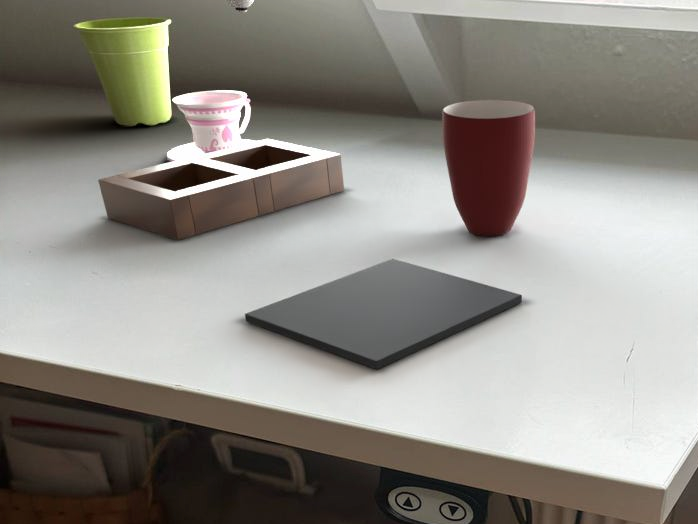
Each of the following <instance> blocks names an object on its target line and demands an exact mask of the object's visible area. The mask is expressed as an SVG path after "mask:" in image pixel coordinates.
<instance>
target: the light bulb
mask: <svg viewBox="0 0 698 524" xmlns="http://www.w3.org/2000/svg"><path fill="white" fill-rule="evenodd" d="M254 1H255V0H226V2H227V4H228V5H230V6H231V7H232V8H234V9H235V11H236V13H247V12H248V9H249V7H251V5H252V4H253V3H254Z"/></svg>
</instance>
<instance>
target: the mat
mask: <svg viewBox="0 0 698 524" xmlns="http://www.w3.org/2000/svg"><path fill="white" fill-rule="evenodd" d="M521 303H523V295H522V294H520V293H516V292H513V291H510V290H506V289H502V288H498V287H496V286H492V285H487V284H484V283H481V282H477V281H473V280H472V279H471V280H470V279H467V278H463V277H459V276H456V275H452V274H448V273H446V272H442V271H438V270H435V269H431V268H427V267H425V266H421V265H417V264H413V263H410V262H407V261H402V260H399V259H396V258H391V259H388V260H385V261H382V262H380V263H377V264H374V265H372V266H369V267H366V268H364V269H361V270H358V271H356V272H354V273H350V274H347V275H345V276H343V277H340V278H337V279H334V280H331V281H329V282H326V283H324V284H321V285H318V286H315V287H313V288H311V289H308V290H305V291H302V292H300V293H297V294H295V295H292V296H289V297H286V298H283V299H281V300H278V301H275V302H273V303H270V304H267V305H265V306H262V307H259V308H257V309H254V310H252V311H249V312H246V313H244V317H245V318H244V319H245V322H247V323H248V324H249V323H250V324H252V325H255V326H258V327H260V328H263V329H266V330H269V331H271V332H274V333H276V334H280V335H282V336H285V337H288V338H291V339H293V340H296V341H298V342H301V343H304V344H307V345H309V346H312V347H315V348H317V349H320V350H323V351H325V352H328V353H331V354H334V355H337V356H340V357H342V358H345V359H347V360H350V361H353V362H356V363H359V364H361V365H364V366H367V367H369V368H371V369H374V370H379V369H381V368H383V367H386V366H388V365H389V364H393V363H394V362H396V361H398V360H401V359H403V358H405V357H407V356H409V355H411V354H413V353H415V352H418V351H420V350H422V349H425V348H426V347H429V346H431V345H433V344H435V343H437V342H439V341H441V340H444V339H446V338H448V337H450V336H452V335H454V334H456V333H459V332H460V331H464V330H465V329H467V328H469V327H472V326H475V324H478V323H481V322H483V321H484V320H485V321H486V319H489V318H491V317H494V316H495V315H497V314H499V313H502V312H504V311H506V310H508V309H510V308H513V307H515V306H517V305H519V304H521Z"/></svg>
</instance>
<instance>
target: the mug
mask: <svg viewBox="0 0 698 524" xmlns="http://www.w3.org/2000/svg"><path fill="white" fill-rule="evenodd" d="M441 116H442V118H441V119H442V120H441V121H442V122H441V123H442V143H443V150H444V156H445V161H446V166H447V167H446V168H447V172H448V178H449V181H450V189H451V193H452V198H453V202H454V205H455V207H456V210H457V211H458V214H459V216H460V217H461V220H462V221H463V223H464V225H465V228H466V229H467V231H468V232H469V233H470V234H472V235H476V236H481V237H495V236H501V235H505V234H508V233H509V232H510V231H511V230H512V228H513V226H514V225H515V223H516V220H517V218H518V216H519V214H520V212H521V209H522V207H523V206H524V203H525V199H526V194H527V188H528V182H529V176H530V170H531V165H532V159H533V154H534V148H535V136H536V109H535V107H534V106H533V105H532V104H529V103H527V102H522V101H516V100H507V99H476V100H465V101H460V102H456V103H455V102H454V103H451V104H449V105H446V106H444V107H443V108H442V112H441Z"/></svg>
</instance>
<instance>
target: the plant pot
mask: <svg viewBox="0 0 698 524" xmlns="http://www.w3.org/2000/svg"><path fill="white" fill-rule="evenodd" d="M171 23H172V20H171V19H170V18H165V17H152V16H151V17H147V16H145V17H144V16H142V17H141V16H140V17H115V18H113V17H112V18H102V19H94V20H93V19H92V20H87V21H82V22H76V23H75V24H74V25H73V28H74V29H75V30H77V31H79V34H80V37H81V39H82V41H83V44H84V47H85V49H86V50H87V51H88V52H89V55H90V58H91V61H92V63H93V65H94V68H95V71H96V74H97V76H98V79H99V81H100V84H101V87H102V89H103V91H104V94H105V98H106V100H107V102H108V105H109V107H110V110H111V112H112V116H113V117H114V121H115V122H116V123H117V125H118V124H119V125H120V126H126V127H133V126H134V127H135V126H136V125H138V124H143V125H145V126H156V125H158V124H165V123H167V122H168V121H170V120H171V118H172V103H171V87H170V72H169V71H170V70H169V69H170V68H169V53H168V52H169V51H168V47H169V45H170V44H169V25H170V24H171Z"/></svg>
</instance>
